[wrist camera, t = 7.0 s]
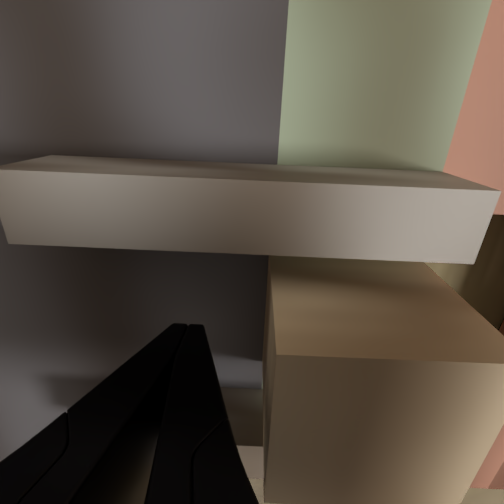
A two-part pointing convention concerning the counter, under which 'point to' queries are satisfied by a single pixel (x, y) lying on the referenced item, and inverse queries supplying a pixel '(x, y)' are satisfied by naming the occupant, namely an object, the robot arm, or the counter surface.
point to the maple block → (374, 384)
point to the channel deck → (225, 174)
